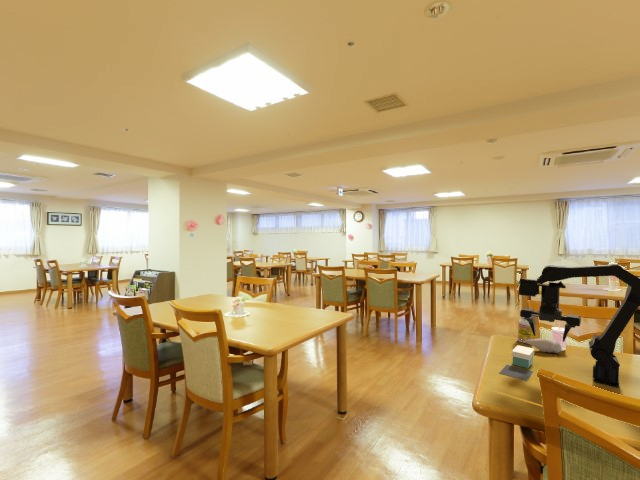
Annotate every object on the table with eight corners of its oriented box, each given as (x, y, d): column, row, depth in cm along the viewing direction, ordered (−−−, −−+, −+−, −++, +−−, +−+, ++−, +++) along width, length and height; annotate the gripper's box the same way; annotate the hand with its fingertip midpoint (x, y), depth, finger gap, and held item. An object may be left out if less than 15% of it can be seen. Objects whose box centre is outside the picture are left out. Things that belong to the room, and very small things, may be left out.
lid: (534, 353, 131) (534, 348, 131) (529, 360, 125) (529, 355, 125) (517, 349, 135) (517, 345, 135) (511, 356, 129) (511, 351, 129)
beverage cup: (553, 350, 146) (554, 319, 146) (548, 345, 152) (549, 315, 152) (569, 351, 144) (571, 320, 144) (564, 346, 150) (565, 316, 150)
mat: (533, 372, 123) (533, 371, 123) (527, 382, 115) (527, 381, 115) (506, 365, 129) (506, 364, 129) (498, 374, 121) (498, 373, 121)
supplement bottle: (516, 341, 157) (516, 315, 157) (519, 338, 162) (520, 312, 161) (532, 345, 152) (533, 317, 152) (535, 341, 157) (536, 315, 157)
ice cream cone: (520, 349, 147) (558, 357, 143) (526, 344, 142) (565, 353, 138) (519, 336, 150) (556, 344, 147) (525, 331, 145) (563, 339, 142)
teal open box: (532, 363, 131) (533, 353, 131) (528, 370, 125) (528, 359, 125) (517, 359, 135) (517, 350, 135) (512, 365, 129) (512, 356, 129)
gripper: (517, 297, 126) (516, 337, 126) (578, 306, 113) (577, 350, 114) (523, 293, 134) (522, 331, 134) (581, 300, 121) (580, 342, 122)
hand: (548, 338), depth 126 cm, fingers open, 9 cm apart
